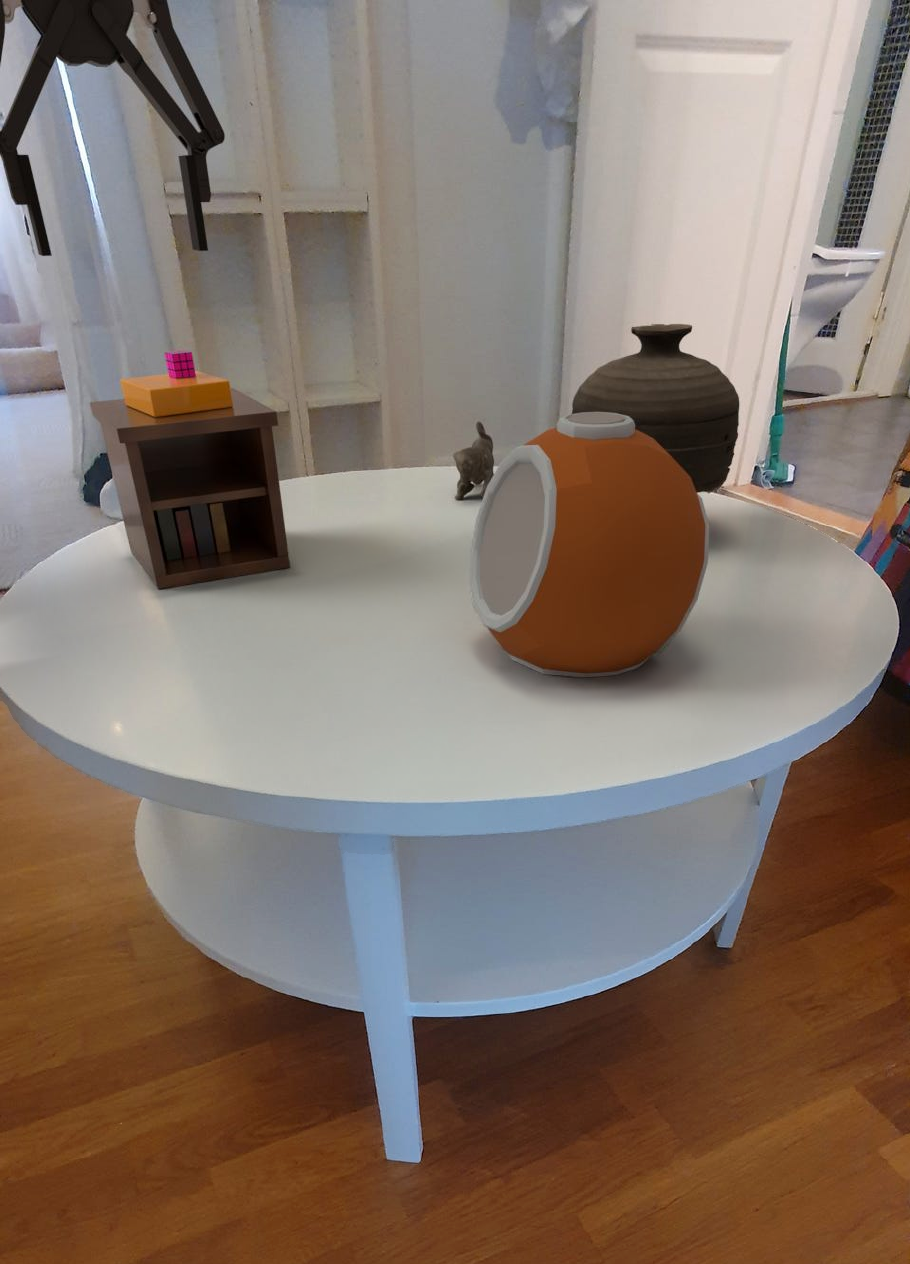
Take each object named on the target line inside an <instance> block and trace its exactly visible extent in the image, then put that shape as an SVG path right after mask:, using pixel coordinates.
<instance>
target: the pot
mask: <svg viewBox="0 0 910 1264" xmlns="http://www.w3.org/2000/svg"><path fill="white" fill-rule="evenodd" d="M692 331H693V325H692V324H685V323H670V324H665V323H655V324H654V323H652V324H651V325H640V326H638V325H637V326H631V329H630V332H631V334H632V335H634V336H636V337H637V338H638V340H639V342H640V346H641V347H640V350H639V351H638V352H637V353H633V354H629V355H625V356H623V357H620V358H617V359H613V360H611V361H609V362H607V363H606V364H603V365H600V366H599V367H598V368H596V369H595V371H594V372H592V373H591V374H590V375H589V376H588V377H586V379H585V380H584V381H583V382H582V384H580V386H579V387H578V389H577V390H576V392H575V394H574V396H573V399H572V404H571V408H572V410H571V414H576V413H582V412H608V413H617V414H621V415H626V416H629V417H630V418H631V419H632V420H633V421H634V423H635V429H636V430H638V431H640V432H642V433H644V434H646V435H648V436H650V437H652V438H653V439H654V440H655V441H656V442H657V443H658V444H659V445H660V446H661V447H662V448H663V449H664V450H665V451H666V452H667V453H668V454H669V455H670V456H671V457H672V458H673V459H674V460H675V461H676V462H677V463H678V464H679V465H680V466H681V467H682V468H683V470H684V471H685V472H686V473H687V474H688V475H689V476H690V477H691V480H692V482H693V485H694V488H695V490H696V493H697V494H699V493H707V494H710V493H712V492H713V491H714V492H715V493H717V492H718V491H719V489H720V488H721V487H722V486H723V485H724V484H725V483H726V481H727V479H728V476H729V473H730V471H731V468H730V467H731V465H732V463H733V459H734V456H735V447H736V445H737V443H736V442H737V441H738V438H739V432H738V431H739V424H740V422H739V421H740V417H739V416H740V415H739V413H740V396H739V394H738V392H737V389H736V388H735V385H734V384H733V383H732V382H731V380H730V379H729V377H728V376H727V375H725V374H724V373H723V372H722V370H721V369H720V367H718V366H717V365H716V364H714V363H711V361H708V360H707V359H704V358H700V357H697V356H695V355H693V354H690V353H687V352H683V351H681V349H680V344H681V342H682V340H683V339H684V338H685V337H686V336H688V335H689V334H690V333H692Z"/></svg>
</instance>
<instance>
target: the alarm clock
mask: <svg viewBox="0 0 910 1264" xmlns="http://www.w3.org/2000/svg"><path fill="white" fill-rule="evenodd" d="M493 473H494V475H493V477H492V479H491V480H490V482H489V484H488V486H487V488H486V491H485V494H484V497H482V500H481V502H480V506H479V509H478V512H477V515H476V518H475V525H474V530H473V533H472V539H471V545H470V551H469V581H468V582H469V588H470V594H471V600H472V606H473V609H474V611H475V613H476V615H477V617H478V618H479V620H480V622H481V623H482V625H483V627H485V628H486V629H487V630H488V631H489V632H490V634H491V635H492V637H493V638H494V639H495V640H496V642H497V643H498V644H499V646H500V648H501V649H502V650H503V651H505V652H506V653H508V654H509V657H510V659H511V660H512V661H514V662H516V663H519V664H520V665H523V666H525V667H528V668H529V669H532V670H534V671H536V672H538V673H541V674H543V675H550V676H551V675H554V676H563V677H574V678H575V677H576V678H593V677H607V676H615V675H616V676H617V675H619V674H622V673H626V672H630V671H632V670H636V669H638V668H640V667H641V666H642V665H643V664H644V663H645V662H646V661H648V660H649V659H650V658H651V657H653V656H655V655H658V654H660V653H661V652H662V651H663V650H664V649H665V648H666V647H667V646H668V645H669V644H670V643H671V642H672V641H673V640H674V639H675V637H677V636H678V634H679V633H681V632H682V629H683V627H684V626H685V624H686V622H687V620H688V618H689V616H690V615H691V613H692V611H693V609H694V607H695V605H696V603H697V601H698V599H699V597H700V596H699V595H700V592H701V589H702V585H703V581H704V577H705V575H706V571H707V567H708V564H709V548H710V547H709V546H710V544H709V543H710V523H709V519H708V516H707V512H706V509H705V504H704V501H703V498H702V497H701V496H700V494H699V493H696V490H695V488H694V485H693V482H692V480H691V477H690V476H689V475H688V474H687V473H686V472H685V471H684V470H683V468H682V467H681V466H680V465H679V464H678V463H677V462H676V461H675V460H674V459H673V458H672V457H671V456H670V455H669V454H668V453H667V452H666V451H665V450H664V449H663V448H662V447H661V446H660V445H659V444H658V443H657V442H656V441H655V440H654V439H653V438H652V437H650V436H648V435H646V434H644V433H642V432H640V431H638V430H636V429H635V423H634V421H633V420H632V419H631V418H630V417H629V416H626V415H621V414H617V413H608V412H582V413H576V414H572V413H571V414H567V415H564V416H563V417H561V418H559V420H558V421H557V423H556V427H555V428H550V429H547V430H545V431H543V432H541V433H540V434H539V435H537V436H536V437H534V438H532V439H530V440H529V441H527V442H525V443H523V444H522V445H518V446H516V447H515V448H514V449H513V450H511V452H510V453H509V454H507V456H505V457H504V458H503V459H502V460H501V461H500V463H499V465H498V466H497V468H496V469H495V471H494V472H493Z"/></svg>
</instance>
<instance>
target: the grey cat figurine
mask: <svg viewBox="0 0 910 1264" xmlns="http://www.w3.org/2000/svg"><path fill="white" fill-rule="evenodd" d="M475 429H476V431H477V433H478V438H476V439H474V441H473V443H472V445H471V446H469V447H465V448H463V449H461V450H459V451H456V452H454V453H453V454H452V457H453V460H454V461H455V466H456V469H457V471H458V473H459V479H458V481H457V483H456V487H457V489H456V494H455V495H454V499H455V500H458V501H460V500H462V499H464V498H465V496H466V495H467V494H469V493H471V492H472V491H473V490H474V489H475V486H479V485H481V484H482V487H481V491H480V497H481V498H483V497H484V494H485V491H486V488H487V486H488V484H489V482H490V480H491V479H492V477H493V475H494V473H495V472H494V466H495V459H494V453H493V451H494V442H493V438H492V437H491V436H490V435H489V434H487V433H486V429H485V427H484V424H483V423H482V422H481V421H477V422H476V423H475Z"/></svg>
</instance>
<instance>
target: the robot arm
mask: <svg viewBox="0 0 910 1264" xmlns="http://www.w3.org/2000/svg"><path fill="white" fill-rule="evenodd" d="M18 8H20V9H21V10H22V12H23V14H24V16H26V17H27V19H28V20H29V21H30V23H31V24H32V26H33V27H34V28H35V30H36V32H37V33H38V34H39V35H40V36H39V39H38V41H37V44H36V46H35V47H34V48H35V49H34V50H33V53H32V55H31V59H30V61H29V64H28V66H27V69H26V71H25V73H24V75H23V77H22V80H21V82H20V85H19V88H18V90H17V92H16V94H15V97H14V99H13V101H12V104H11V106H10V109H9V111H8V113H7V116H6V118H5V120H4V122H3V125H2V127H1V130H0V158H1V162H2V165H3V170H4V173H5V178H6V181H7V185H8V190H9V194H10V196H11V199H12V200H13V203H14V204H15V205H17V206H26V208H27V211H28V215H29V219H30V224H31V228H32V231H33V237H34V241H35V244H36V248H37V253H38V256H41V257H52V256H53V255H52V250H51V246H50V242H49V238H48V233H47V229H46V225H45V220H44V216H43V212H42V208H41V202H40V199H39V195H38V190H37V187H36V182H35V177H34V173H33V169H32V164H31V160H30V157H29V154H19V152H18V146H19V144H20V143H21V139H22V137H23V135H24V132H25V130H26V127H27V126H28V123H29V121H30V119H31V116H32V114H33V112H34V109H35V106H36V104H37V102H38V100H39V97H40V95H41V93H42V90H43V88H44V86H45V84H46V82H47V78H48V77H49V75H50V73H51V70H52V68H53V66H54V63H55V61H56V59H58V60H59V61H61V62H62V63H63V64H65V65H66V66H67V67H79V66H82V65H84V64H88V65H91V66H94V67H97V68H108V67H110V66H111V65H113V64H115V63H117V65H118V66H119V67H120V69H122V71H123V72H124V73H125V74H126V75H127V76H128V77H129V78H130V79H131V80H132V82H133V83H134V84H135V86H136V87H137V88H138V89H139V91H140V92H141V93H142V95H143V96H144V97H145V99H146V100H147V101H148V103H150V105H151V106H152V108H153V109H154V110H155V112H156V113H157V114H158V115H159V117H160V118H161V119H162V120H163V121H164V123H165V124H166V125H167V127H168V128H169V129H170V131H171V132H172V134H173V135H174V136H175V137H176V139H177V140H178V141H179V143H180V144H181V145H182V146H183V148H184V149H185V150H186V151H187V154H184V155H178V162H179V163H178V164H179V170H180V175H181V180H182V182H181V183H182V188H183V189H182V190H183V195H184V201H185V208H186V214H187V220H188V227H189V233H190V234H189V235H190V240H191V246H192V251H198V252H208V251H209V247H208V240H207V233H206V226H205V220H204V212H203V206H202V203H211V198H212V192H211V190H212V189H211V185H210V184H211V183H210V178H209V171H208V170H209V169H208V163H207V155H208V152H209V151H210V150H211V149H213V148H215V147H216V146H219V145H222V144H223V143H224V142H225V138H226V134H225V131H224V129H223V127H222V125H221V123H220V121H219V119H218V117H217V115H216V113H215V111H214V108H213V106H212V103H211V102H210V100H209V98H208V96H207V94H206V92H205V90H204V88H203V85H202V84H201V82H200V79H199V78H198V76H197V73H196V71H195V69H194V68H193V66H192V63H191V61H190V59H189V57H188V55H187V53H186V51H185V49H184V47H183V45H182V43H181V40H180V39H179V37H178V34H177V33H176V31H175V28H174V25H173V20H172V16H171V12H170V7H169V3H168V0H0V66H1V65H2V58H3V50H4V43H5V35H6V24H7V25H10V24H11V23H12V22H13V21H14V18H15V11H16V10H17V9H18ZM134 15H136V16H138V17H139V19H140V20H141V23H142V26H144V28H145V29H146V30H147V31H150V32H152V34H153V38H154V40H155V42H156V45H157V47H158V49H159V51H160V53H161V55H162V57H163V59H164V61H165V63H166V65H167V67H168V68H169V71H170V73H171V75H172V77H173V78H174V81H175V83H176V84H177V86H178V89H179V91H180V93H181V94H182V96H183V99H184V101H185V103H186V104H187V106H188V109H189V110H190V112H191V115H192V117H193V118H194V120H195V122H196V125H197V127H198V129H199V130H200V131H198V129H196V127H195V126H194V124H193V123H192V122H191V120H190V119H189V118H188V117H187V115H186V114H185V113H184V111H183V110H182V109H181V107H180V106H179V105H178V104H177V102H176V100H174V98H173V97H172V95H171V94H170V93H169V92H168V90H167V89H166V87H165V86H164V84H162V82H161V81H160V80H159V79H158V77H157V75H155V73H154V72H153V70H152V69H151V67H150V66H149V65H148V63H147V62H146V61H145V60H144V57H143V56H142V55H143V54H142V53H141V52H140V51H139V50H138V48H137V47H136V46H135V44H134V43H133V41H132V40H131V39H130V37H129V36H128V32H129V30H130V29H129V28H130V26H131V23H132V21H133V17H134Z"/></svg>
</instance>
